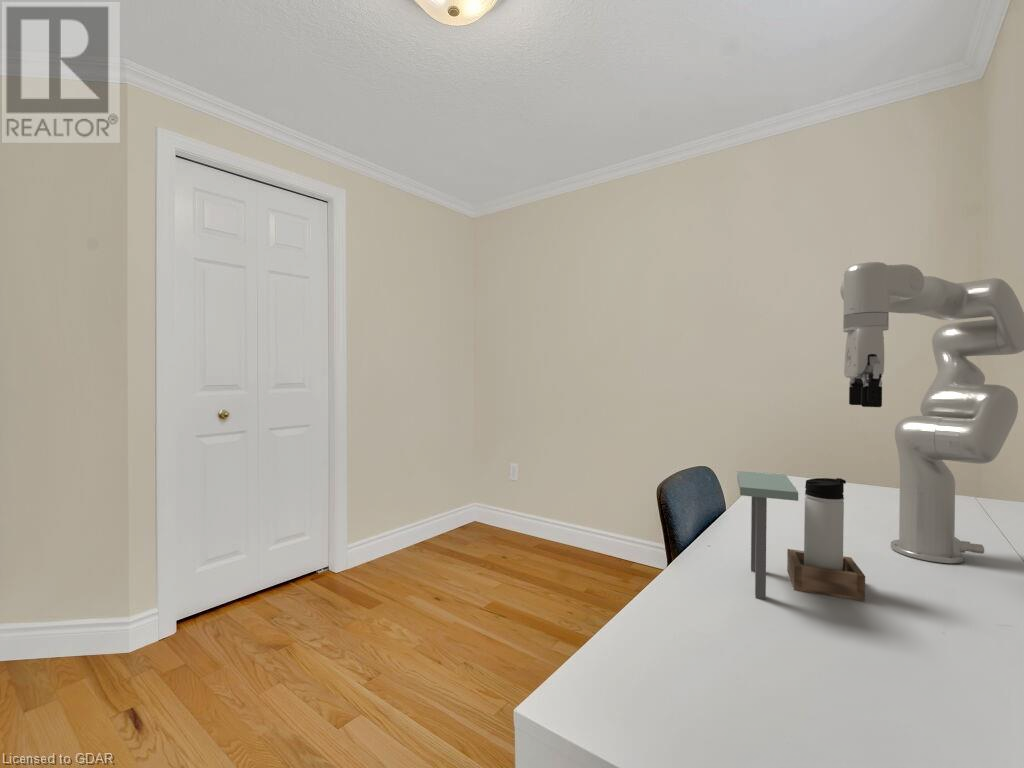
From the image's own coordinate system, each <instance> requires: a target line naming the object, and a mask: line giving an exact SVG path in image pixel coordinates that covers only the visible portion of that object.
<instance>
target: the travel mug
mask: <svg viewBox="0 0 1024 768" xmlns="http://www.w3.org/2000/svg"><path fill="white" fill-rule="evenodd" d="M846 483H847V482H846V479H842V478H841V477H840V478H838V477H836V478H830V477H829V478H826V477H821V478H820V477H819V478H817V477H816V478H809V479H806V480H805V487H804V488H805V489H804V491H805V492H804V531H803V532H804V533H803V535H804V536H803V537H804V539H803V541H804V543H803V546H804V547H803V551H804V565H807V566H813V567H820V568H827V569H834V570H841V571H843V556H844V526H845V525H844V524H845V523H844V512H845V509H844V507H845V506H844V505H845V503H844V500H845V497H844V490H845V489H844V485H846Z"/></svg>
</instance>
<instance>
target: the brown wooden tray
mask: <svg viewBox="0 0 1024 768" xmlns="http://www.w3.org/2000/svg"><path fill="white" fill-rule="evenodd" d="M786 554H787V556H786V557H787V563H786V564H787V567H786V568H787V569H786V570H787V574H788V577H789V579H790V581H791V585H792V587H793V590H794V591H800V592H807V593H811V594H818V595H823V596H830V597H831V596H832V597H835V598H836V597H837V598H843V599H848V600H854V601H861V602H866V575H865V574H864V572H863V571H862V570H861V569H860V568H859V566H858V564H857V563H856V561H855V560H854V559H853V558H852V557H850V556H844V555H843V571H841V570H834V569H827V568H820V567H813V566H807V565H804V550H799V549H792V548H787V553H786Z"/></svg>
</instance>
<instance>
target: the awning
mask: <svg viewBox="0 0 1024 768" xmlns="http://www.w3.org/2000/svg"><path fill="white" fill-rule="evenodd" d="M736 472H737V473H736V478H737V484H738V491H739V495H740V496H743V497H751V507H750V508H751V509H750V511H751V512H750V515H751V517H750V518H751V520H750V522H751V523H750V529H751V530H750V532H751V533H750V572H752V571H754V572H753V573H754V576H755V577H754V579H755V580H754V598H756V599H761V600H765V601H766V599H767V587H766V585H767V517H768V515H767V507H768V506H767V505H768V504H767V503H768V502H767V501H768V500H767V499H774V500H775V499H776V500H787V501H796V502H797V501H798V502H799V491H798V489H797V488H796V487H795V486H794V484H793V482H792V481H791V480H790V478H789V477H788V476H787V474H778V473H766V472H753V471H752V472H751V471H741V470H738V471H736Z"/></svg>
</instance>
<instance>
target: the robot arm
mask: <svg viewBox="0 0 1024 768" xmlns="http://www.w3.org/2000/svg"><path fill="white" fill-rule="evenodd" d="M839 291H840V297H841V299H842V300H843V320H842V321H843V325H842V327H843V329H842V330H843V331H842V332H843V333H847V334H846V335H847V336H846V341H845V353H844V368H843V369H844V371H843V376H844V377H845V378H847V379H849V378H850V379H849V387H848V388H849V389H848V404H849V405H850V406H862V407H863V408H881V407H882V406H883V381H882V378H883V375H884V372H885V341H884V340H885V337H884V332H885V331H888V330H889V327H890V326H889V325H890V323H889V322H890V321H889V317H890V316H889V313H893V314H894V313H896V314H917V315H921V316H925V317H926V316H927V317H929V318H932V319H933V318H934V319H937V320H941V321H955V320H966V319H967V320H968V319H976V318H986V317H989V318H990V317H992V319H981V320H969V321H961V322H960V321H959V322H958V321H957V322H953V323H949V324H945V325H943V326H940V327H939V328H937V329H936V330H935V332H934V333H933V334H932V338H931V345H932V351H933V356H934V359H935V363H936V367H937V374H936V376H935V378H934V379H933V381H932V383H931V385H930V386H929V388H928V389H927V391H926V392H925V394H924V396H923V398H922V401H921V402H920V413H921V415H913V416H908V417H905V418H903V419H901V420H899V422H897V424H896V425H895V429H894V439H895V444H896V449H897V453H898V460H899V509H898V510H899V511H898V512H899V515H898V516H899V517H898V518H899V522H898V523H899V525H898V529H899V530H898V532H899V533H898V536H899V537H898V539H894V540H891V541H890V548H891V549H892V550H893V551H894V552H897V553H899V554H901V555H904V556H908V557H911V558H914V559H917V560H923V561H927V562H932V563H938V564H939V563H942V564H959V563H963V562H964V561H965V555H964V554H965V553H966V552H970V553H973V554H984V553H985V547H984V545H983V544H979V543H971V541H967V540H960V539H959V538H957V537H956V536H955V534H956V533H955V529H956V528H955V527H956V526H955V524H956V523H955V521H956V518H955V517H956V478H955V476H954V475H953V472H952V470H950V468H949V467H948V466H947V464H946V463H945V462H944V461H950V462H951V461H952V462H958V463H959V462H960V463H968V464H969V463H970V464H980V465H981V464H984V465H985V464H989V463H991V462H993V461H994V460H995V459H996V458H997V457H998V455H999V454H1000V452H1001V450H1002V448H1003V447H1004V444H1005V442H1006V440H1007V438H1008V436H1009V434H1010V432H1011V430H1012V428H1013V426H1014V424H1015V422H1016V419H1017V416H1018V412H1019V401H1018V398H1017V395H1016V394H1015V392H1014V391H1013V390H1012V389H1011V388H1009V387H1006V386H1004V385H1000V384H985V382H986V377H985V374H984V372H983V371H982V370H981V369H980V368H979V366H977V365H976V364H975V363H973V362H972V361H971V360H969V359H968V358H967V357H976V356H977V357H978V356H979V357H981V356H985V357H986V356H1004V355H1005V356H1007V355H1015V354H1020V353H1022V352H1024V310H1023V308H1022V306H1021V302H1020V301H1019V299H1018V297H1017V294H1016V293H1015V291H1014V289H1013V288H1012V287H1011V286H1010V284H1009V283H1007V282H1006V281H1005V280H1003V279H1001V278H997V277H996V278H993V277H992V278H985V279H978V280H973V281H965V282H953V281H949V280H946V279H944V278H940V277H936V276H930V275H929V276H928V275H924V274H923V272H922V270H920V269H919V268H918V267H916V266H914V265H911V264H903V263H902V264H901V263H900V264H886V263H884V262H880V261H869V262H862V263H861V262H860V263H857V264H856V263H855V264H854V265H850V266H849V267H847V268H845V271H844V273H843V281H842V283H841V285H840V289H839Z"/></svg>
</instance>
